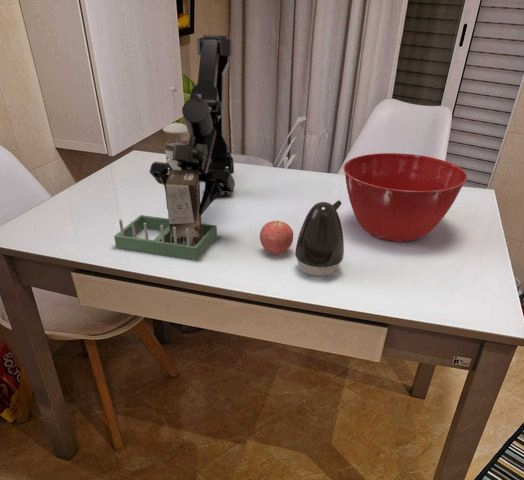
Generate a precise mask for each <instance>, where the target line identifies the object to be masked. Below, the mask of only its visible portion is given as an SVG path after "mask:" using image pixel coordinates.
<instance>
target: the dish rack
mask: <svg viewBox="0 0 524 480" xmlns="http://www.w3.org/2000/svg"><path fill="white" fill-rule="evenodd" d="M118 223H119V230H120V231H119V232H117V233H115V235H114V236H113V238H114V243H115V249H119V250H120V249H121V250H127V251H134V252H141V253H148V254H153V255H160V256H165V257H173V258H181V259H186V260H192V261H198V260H199V259H200V258H202V256H203V255H204V253H205V252H206V251H207V250H208V249H209V248H210V246H211V245H212V244H213V243H214V242H215V240H216V239H217V238H218V225H217V224H209V223H204V222H203V223H202V239H201V240H200V241H199V242H198V243H197V244H196V245H195V246H190V242H189V229H186V239H187V245H182V244H177V236H176V227H173V234H174V243H171V239H170V228H169V218H165V217H158V216H152V215H143V214H140V215H138V216H137V217H136V218H135V219H133V220H131V221H130V222H129V223H128V224H127V225H126V226H123V219H121V218H119V219H118ZM143 229H144V238H142V237H137V234H138V233H139V232H140V231H142V230H143ZM148 229H150V230H155V231H156V230H157V231H160V233H159V234H158V235H157V236H156V237H155V238H154V239H149V232H148Z"/></svg>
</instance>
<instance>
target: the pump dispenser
mask: <svg viewBox="0 0 524 480" xmlns="http://www.w3.org/2000/svg"><path fill="white" fill-rule="evenodd" d="M341 205H342V201H341V200H337V201H335V202H334V203H333V204H332V203H330V202H327V201H320V202H317V203H315V204H314V205H312V206H311V208H310V209H309V210H308V212H307V214H306V216H305V218H304V220H303V222H302V225H301V228H300V231H299V234H298V237H297V241H296V245H295V252H294V254H295V258H296V259H297V260H296V261H297V264H298V266H299V267H300V269H301V271H303V272H304V273H305V274H307V275H310V276H313V277H326V276H329V275H331V274H333V273H334V272H336V270H337V269H338V268H339V267H340V265H341V262H342V261H343V259H344V256H345V255H344V254H345V253H344V252H345V245H344V244H345V243H344V232H343V227H342V223H341V218H340V216H339V213H338V209H339V208H340V206H341Z"/></svg>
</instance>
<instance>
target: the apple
mask: <svg viewBox="0 0 524 480" xmlns="http://www.w3.org/2000/svg"><path fill="white" fill-rule="evenodd" d="M259 241H260V244H261V246H262V247H263V249H264V250H265V251H266V252H267V253H269V254H271V255H276V256H278V255H283V254H285V252H287V251H288V250H289V248H291V246H292V244H293V242H294V230H293V229H292V226H290V224H288V223H287V222H285V221H281V220H271V221H268V222H266V223H265V224H264V225H262V228H261V229H260V231H259Z"/></svg>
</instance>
